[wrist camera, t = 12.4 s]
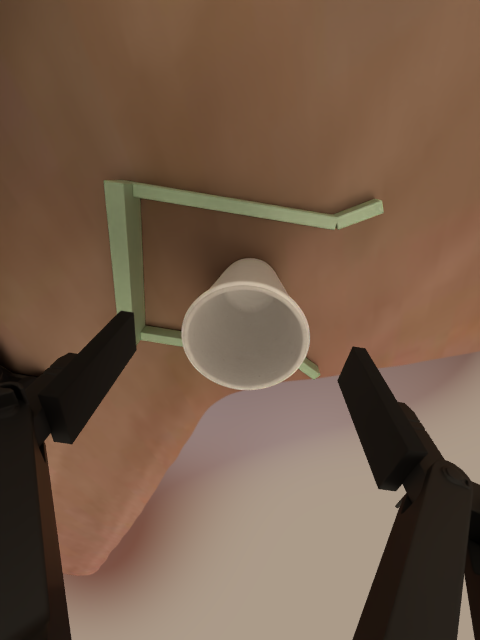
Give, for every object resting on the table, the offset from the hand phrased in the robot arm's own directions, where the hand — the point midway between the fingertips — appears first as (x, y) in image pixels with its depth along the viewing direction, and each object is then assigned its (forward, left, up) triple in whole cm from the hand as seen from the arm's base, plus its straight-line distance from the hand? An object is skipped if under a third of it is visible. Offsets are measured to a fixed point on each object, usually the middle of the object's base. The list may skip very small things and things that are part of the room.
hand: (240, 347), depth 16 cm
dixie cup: (0, 0, -11) cm, 11 cm away
